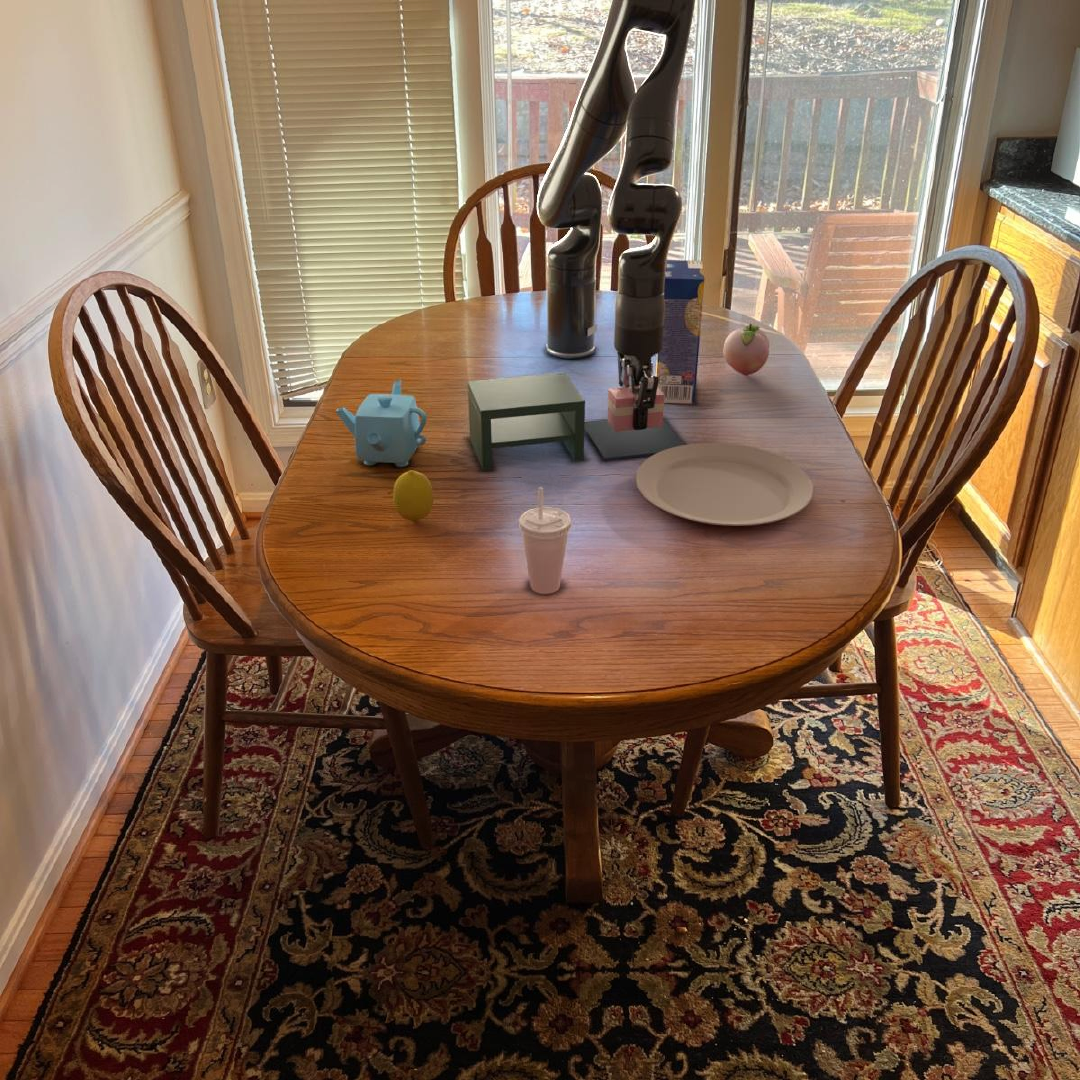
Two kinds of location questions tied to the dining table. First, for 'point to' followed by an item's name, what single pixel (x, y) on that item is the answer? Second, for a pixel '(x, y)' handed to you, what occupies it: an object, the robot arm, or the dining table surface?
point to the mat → (630, 440)
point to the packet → (631, 409)
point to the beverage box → (681, 331)
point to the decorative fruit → (746, 349)
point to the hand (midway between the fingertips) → (634, 421)
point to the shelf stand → (525, 414)
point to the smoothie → (545, 545)
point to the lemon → (413, 496)
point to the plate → (724, 484)
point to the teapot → (386, 427)
